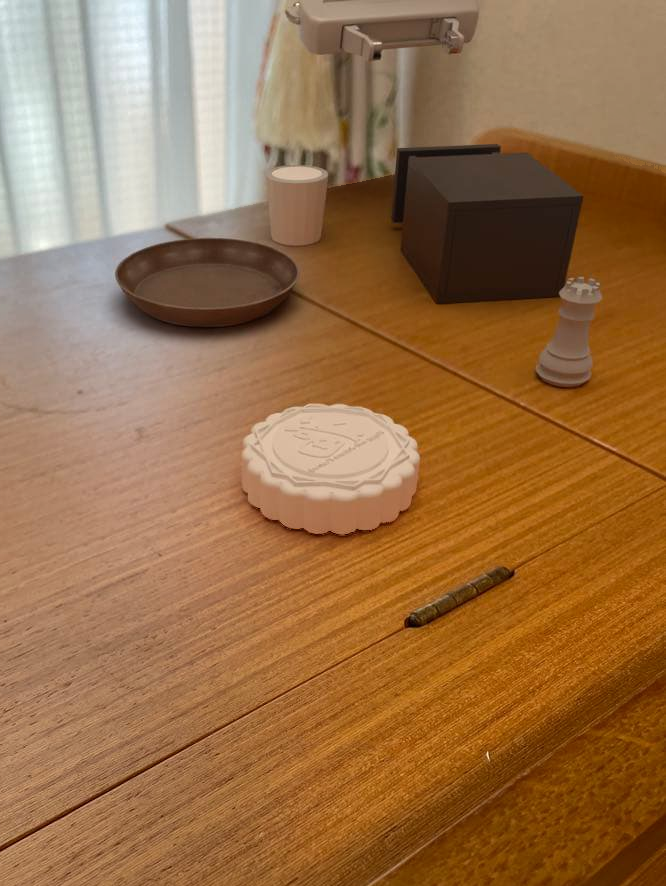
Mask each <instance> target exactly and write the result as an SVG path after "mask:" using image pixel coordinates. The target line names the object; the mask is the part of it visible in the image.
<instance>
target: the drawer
mask: <svg viewBox="0 0 666 886" xmlns="http://www.w3.org/2000/svg"><path fill="white" fill-rule="evenodd" d="M501 148H502V146H500V145H499V144H498V143H490V144H489V143H487V144H464V145H462V144H461V145H439V146H416V147H415V146H413V147H397V148H396V158H395V168H394V181H393V192H392V193H393V194H392V204H391V205H392V206H391V218H390V220H391V222H392V224H403V216H404V205H405V194H406V183H407V172H408V160H409V158H414V157H437V156H460V155H484V154H501Z"/></svg>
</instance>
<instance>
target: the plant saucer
mask: <svg viewBox="0 0 666 886" xmlns="http://www.w3.org/2000/svg"><path fill="white" fill-rule="evenodd" d="M300 274H301V273H300V268H299V265H298V263H297V262H296V261H295V260H294V259H293V258H292V257H291V256H290V255H288V254H287V253H285V252H284V251H281V250H279V249H277V248H275V247H273V246H269V245H266V244H263V243H258V242H254V241H249V240H243V239H236V238H223V237H195V238H194V237H193V238H185V239H176V240H171V241H165V242H160V243H156V244H154V245H153V244H152V245H150V246H146V247H143V248H142V249H139V250H137V251H134V252H133V253H131V254H129V255H127V256H126V257H125V258H123V259H122V260H121V261H120V262H119V263H118V265H117V267H116V269H115V273H114V277H115V281H116V283H117V284H118V286H119V287H120V289H121V290H122V292H123V293H124V294H125V295H126V297H127V298H128V299H129V300H130V301H131V302H132V303H133V304H134V305H136V306H137V307H138V309H140V311H142V312H143V313H145V314H147V315H148V316H150V317H152V318H153V319H157V320H159V321H162V322H166V323H168V324H172V325H178V326H183V327H184V326H185V327H195V328H219V327H228V326H235V325H240V324H244V323H248V322H251V321H254V320H257V319H259V318H261V317H264V316H266V315H267V314H269V313H271V312H272V311H273V310H274V309H275V308H277V307H278V306H279V305H280V304H281V303H282V302H283V301H284V300H285V298H286V297H287V296H288V295H289V294H290V293H291V291H292V290H293V288H294V287H295V286H296V284H297V282H298V280H299V277H300Z"/></svg>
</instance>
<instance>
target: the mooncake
mask: <svg viewBox="0 0 666 886" xmlns="http://www.w3.org/2000/svg"><path fill="white" fill-rule="evenodd" d="M418 448H419V444H418V442H417V440H416V439H415V438H414V437H412V436H410V432H409V430H408V429H407V428H406V427H405V426H404V425H402V424H399V423H395V422H394V420H393V419H392V418H391V417H390V416H388V415H387V414H386V415H385V414H383V413H379V412H378V413H377V412H374V411H373V410H371V409H369V408H366V407H363V406H359V405H358V406H350V405H348V404H344V403H334V404H331V405H327V404H324V403H308V404H306V405H303V406H292V407H289V408H285V409H284V410H283V411H282V412H275V413H272V414H270V415H267V416H266V418H265V420H264V421H260V422H257V423H255V424H254V425H253V426H252V427H251V430H250V434H247V435H246V436H245V437H244V438H243V440H242V451H241V455H240V457H241V462H240V463H241V487H242V490H243V491H244V492H245V493H246V492H247V493H248V494H247V493H246V494H247V501H248V503H249V502H250V503H251V504H252V505H254V506H257V507H260V509H259V510H260V513H261V512H262V513H261V515H262V514H263V515H264V516H266V517H268V518H273V519H279V521H278V522H279V523H280V522H281V523H282V524H283V525H285V526H287V527H290V528H300V527H304V529H305V530H307V531H309V532H314V533H325V532H328V531H331V532H333V533H334V532H335V533H338V534H346V533H350V532H353V533H355V532H356V531H357V530H356V529H359V530H371V531H373V530H372V529H374V530H376V529H377V528H378V527H379V526H380V524H389V523H392V522H394V521H396V520H397V518H398V517H399V515H400V511H401V512H404V511H406V510H408V509H409V508H410V506H411V503H412V499H413V496H414V495H415V494H416V492H417V488H418V487H417V486H418V481H419V480H418V479H419V473H420V472H419V471H420V463H421V456H420V454H419V452H418ZM250 503H249V504H250ZM251 504H250V505H251ZM252 505H251V506H252ZM263 515H262V516H263ZM264 516H263V517H264ZM386 522H387V523H386ZM388 522H389V523H388ZM281 523H280V524H281ZM282 524H281V525H282ZM283 525H282V526H283ZM375 528H376V529H375ZM304 529H303V530H304ZM305 530H304V531H305ZM359 530H358V531H359ZM331 532H330V533H331ZM328 533H329V532H328ZM333 533H332V534H333Z"/></svg>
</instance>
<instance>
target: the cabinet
mask: <svg viewBox="0 0 666 886" xmlns="http://www.w3.org/2000/svg"><path fill="white" fill-rule="evenodd" d="M584 197H585V195H584V194H582V193H581V192H579V190H577V189H575V188H574V187H573V186H571V185H570V184H569V183H568V182H566V181H565V180H564V179H562V178H561V177H560V176H558V175H557V174H556V173H554V172H553V171H552V170H550V168H548V167H546V166H545V165H544V164H543V163H541V162H540V161H539V160H537V159H536V158H535V157H533V156H532V155H531V154H530V153H528V152H510V153H500V154H484V155H460V156H437V157H414V158H409V160H408V172H407V183H406V194H405V205H404V216H403V223H402V228H401V239H400V249H399V250H400V252H401V253H402V255H403V256H404V258H405V259H406V260H407V262H408V263H409V265H410V266H411V268H412V269H413V271H414V272H415V275H416V276H417V277H418V278H419V280H420V282H421V283H422V285H423V286H424V287H425V289H426V290H427V292H428V294H429V295H430V296H431V298H432V299H433V301H434V302H435V303H436V305H441V304H456V303H457V304H459V303H476V302H493V301H494V302H495V301H510V300H527V299H544V298H561V297H560V295H559V292H560V291H561V289H563V288H564V287H565V286H566V280H567V275H568V270H569V267H570V266H569V265H570V261H571V257H572V252H573V247H574V242H575V238H576V234H577V228H578V224H579V220H580V214H581V210H582V205H583V203H584V202H583V201H584Z"/></svg>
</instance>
